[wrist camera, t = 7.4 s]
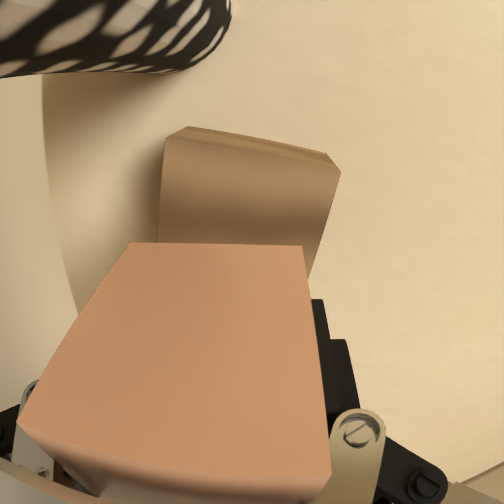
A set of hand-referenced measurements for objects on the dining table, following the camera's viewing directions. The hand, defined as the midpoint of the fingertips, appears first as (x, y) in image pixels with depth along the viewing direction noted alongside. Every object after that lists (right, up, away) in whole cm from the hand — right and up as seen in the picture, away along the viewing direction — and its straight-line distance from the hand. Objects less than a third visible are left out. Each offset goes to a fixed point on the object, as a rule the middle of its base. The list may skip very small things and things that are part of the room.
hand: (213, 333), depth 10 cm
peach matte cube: (0, +1, +1) cm, 1 cm away
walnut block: (+1, +6, +12) cm, 13 cm away
